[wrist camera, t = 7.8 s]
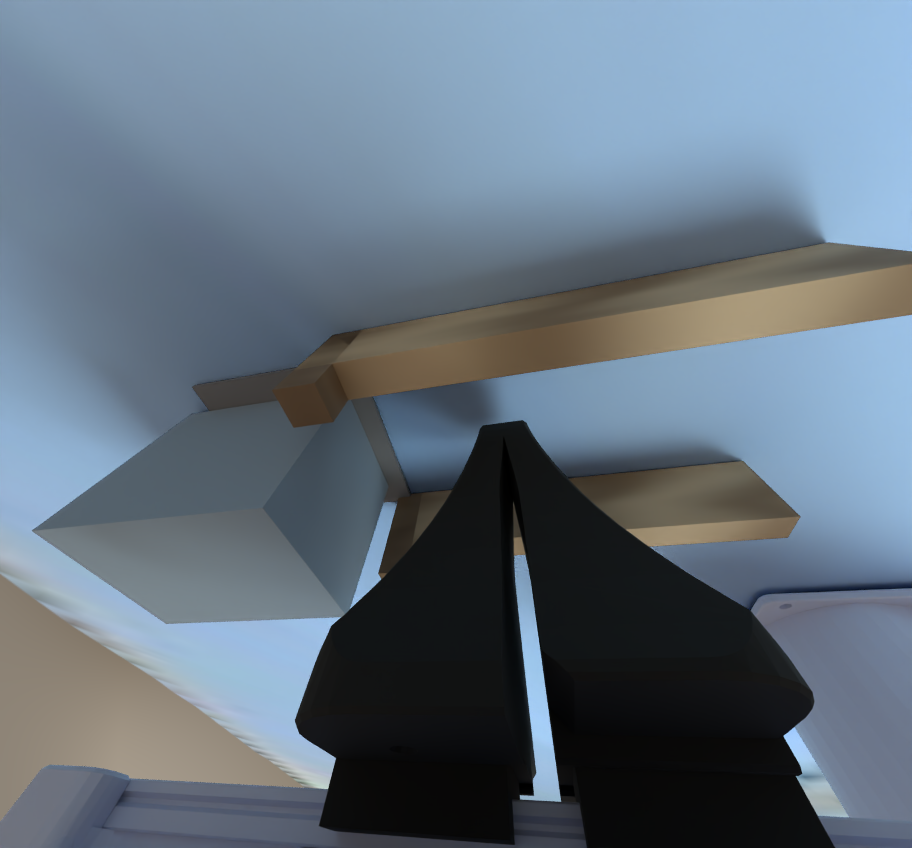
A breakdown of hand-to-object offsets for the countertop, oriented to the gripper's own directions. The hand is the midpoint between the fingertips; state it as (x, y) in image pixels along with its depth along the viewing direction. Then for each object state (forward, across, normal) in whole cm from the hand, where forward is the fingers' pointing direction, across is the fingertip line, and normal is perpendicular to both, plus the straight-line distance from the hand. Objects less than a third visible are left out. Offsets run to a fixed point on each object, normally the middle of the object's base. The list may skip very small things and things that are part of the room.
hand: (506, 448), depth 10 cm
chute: (+1, -2, 0) cm, 2 cm away
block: (+1, +8, 0) cm, 8 cm away
